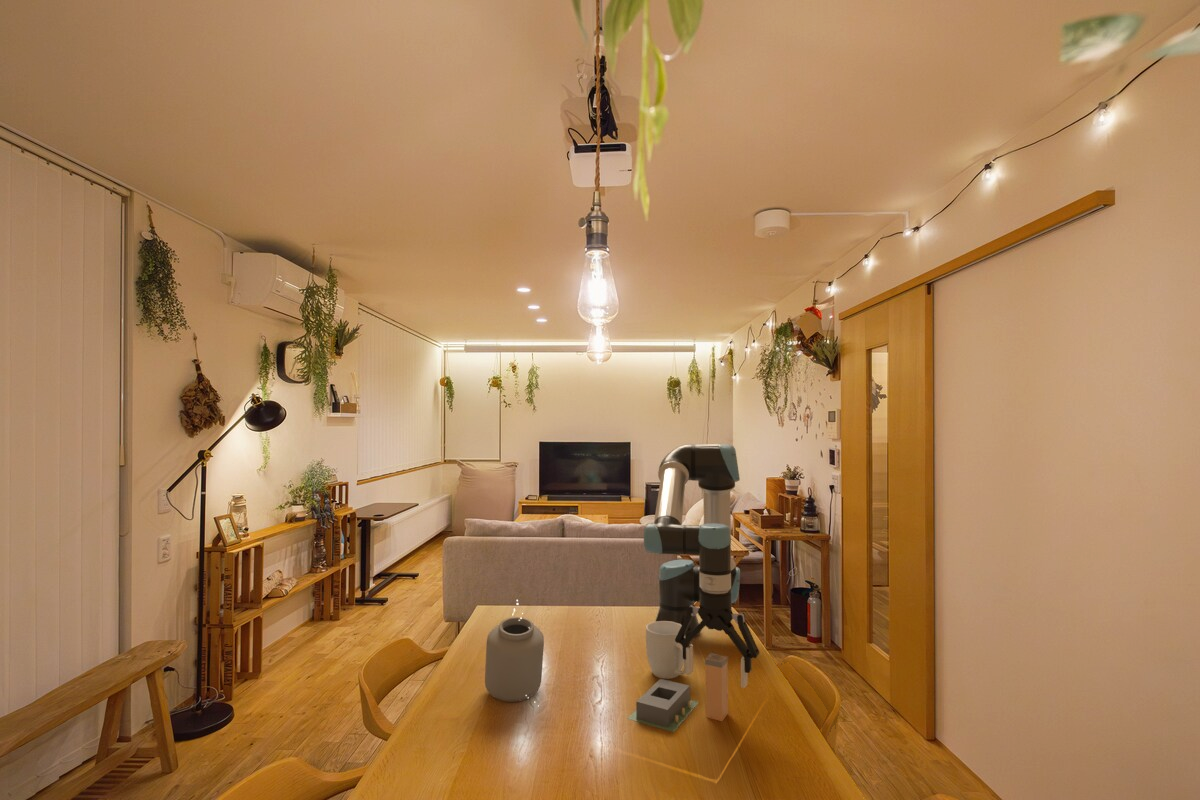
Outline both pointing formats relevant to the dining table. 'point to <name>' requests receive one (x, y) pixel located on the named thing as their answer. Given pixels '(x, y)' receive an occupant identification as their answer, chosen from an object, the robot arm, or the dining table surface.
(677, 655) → the mug
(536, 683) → the jar
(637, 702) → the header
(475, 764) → the dining table surface
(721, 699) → the plug
